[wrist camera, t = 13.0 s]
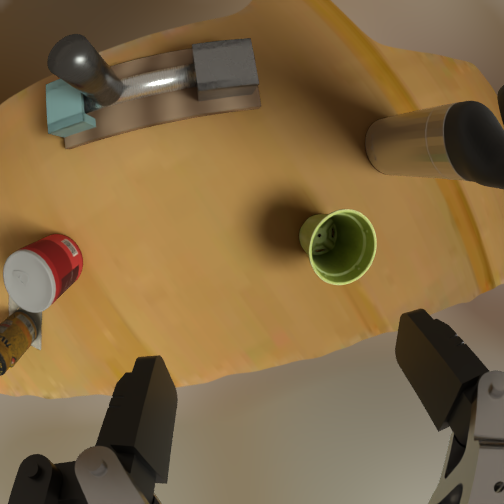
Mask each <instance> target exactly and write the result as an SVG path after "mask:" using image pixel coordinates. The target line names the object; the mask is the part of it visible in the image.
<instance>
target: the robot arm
mask: <svg viewBox="0 0 504 504" xmlns="http://www.w3.org/2000/svg"><path fill="white" fill-rule="evenodd" d="M498 104H499V109H500V113H501V117H502V121H503V125H504V85H503V86H502V87H501V88H500V90H499V92H498ZM365 148H366V152H367V155H368V158H369V160H370V162H371V163H372V165H373V166H374V167H375V168H376V169H377V170H378V171H380V172H381V173H383V174H386V175H397V176H413V177H428V178H442V179H454V180H465V181H473V182H476V183H478V184H481V185H484V186H488V187H494V188H500V189H504V130H503V128H502V127H501V125H500V123H499V122H498V120H497V118H496V117H495V116H494V114H493V113H492V112H491V111H490V110H489V109H488V108H487V107H486V106H485V105H483V104H481V103H479V102H476V101H465V102H459V103H453V104H447V105H442V106H437V107H432V108H427V109H423V110H418V111H413V112H409V113H404V114H400V115H395V116H391V117H387V118H383V119H379V120H377V121H375V122H374V123H373V124H372V125H371V126H370V127H369V129H368V131H367V134H366V139H365ZM395 354H396V359H397V362H398V364H399V366H400V368H401V369H402V371H403V372H404V374H405V376H406V377H407V379H408V381H409V382H410V384H411V385H412V387H413V389H414V390H415V392H416V393H417V395H418V397H419V399H420V400H421V402H422V404H423V406H424V407H425V409H426V410H427V412H428V414H429V416H430V418H431V419H432V421H433V423H434V425H435V426H436V428H437V430H438V431H441V430H443V429H445V428H447V427H449V426H450V427H451V429H452V433H451V436H450V440H449V444H448V449H447V453H446V457H445V461H444V465H443V469H442V473H441V477H440V480H439V483H438V485H437V488H436V489H435V491H434V493H433V495H432V497H431V499H430V501H429V503H428V504H504V372H502V371H489V370H488V369H487V368H486V367H485V366H484V364H483V363H482V362H481V361H480V360H479V358H478V357H477V356H476V355H475V354H474V353H473V352H472V350H471V349H470V348H469V347H468V346H467V345H466V344H464V341H463V340H462V339H461V338H460V337H459V336H457V334H456V333H455V331H454V330H453V329H452V328H451V327H450V326H449V325H447V324H445V323H444V322H442V321H440V320H438V319H435V320H433V318H432V317H431V316H430V315H429V314H428V313H427V312H426V311H425V310H424V309H418V310H414V311H411V312H407V313H403V314H402V315H401V317H400V322H399V329H398V335H397V342H396V348H395ZM112 396H113V398H111V401H110V404H109V408H108V409H107V412H106V415H105V418H104V421H103V425H102V427H101V430H100V433H99V437H98V440H97V443H96V445H95V446H93V447H90V448H88V449H86V450H84V451H83V452H82V453H81V454H80V455H79V456H78V458H77V460H76V461H73V462H66V463H58V464H53V463H52V462H51V461H50V460H49V459H48V458H46V457H45V456H43V455H40V454H34V455H31V456H29V457H27V458H26V459H24V460H23V462H22V463H21V465H20V467H19V470H18V472H17V476H16V478H15V482H14V485H13V488H12V491H11V495H10V498H9V502H8V504H162V503H161V501H160V500H159V498H158V497H157V496H156V494H155V493H154V487H155V483H167V479H168V470H169V462H170V453H171V446H172V438H173V431H174V423H175V416H176V409H177V392H176V388H175V385H174V383H173V381H172V379H171V377H170V374H169V372H168V370H167V368H166V365H165V363H164V361H163V359H162V357H161V356H146V357H138V358H137V359H136V362H135V365H134V368H133V371H132V372H130V373H125V374H124V375H123V377H122V378H121V379H120V380H119V381H118V383H117V384H116V387H115V389H114V392H113V395H112Z"/></svg>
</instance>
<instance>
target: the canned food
mask: <svg viewBox="0 0 504 504" xmlns="http://www.w3.org/2000/svg"><path fill="white" fill-rule="evenodd" d="M82 267H83V258H82V254H81V251H80V249H79V247H78V245H77V244H76V243H75V242H74V241H73V240H72V239H70V238H69V237H67V236H64V235H60V234H53V235H50V236H47V237H45V238H43V239H40V240H38V241H36V242H34V243H32V244H30V245H27V246H25V247H23V248H21V249H19V250H17V251H15V252H14V253H13V254H11V255H10V256H9V257H8V259H7V260H6V262H5V265H4V270H3V277H4V283H5V287H6V289H7V292H8V293H9V295H10V297H11V298H12V300H13V301H14V302H15V303H16V304H17V305H18V306H19V307H21V308H22V309H24V310H26V311H29V312H33V313H38V312H42V311H44V310H45V309H47V308H48V307H49V306H50V305H51V304H53V303H54V302H55V301H56V300H57V299H58V298H59V297H60V296H61V295H62V294H63V293H64V292H65V291H66V290H67V289H68V288H69V287H70V286H71V285H72V284H73V283H74V282H75V281H76V280H77V279H78V278H79V276H80V274H81V272H82Z"/></svg>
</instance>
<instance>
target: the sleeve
mask: <svg viewBox="0 0 504 504" xmlns="http://www.w3.org/2000/svg"><path fill="white" fill-rule="evenodd" d="M192 58H193V63H194V64H195V72H196V79H197V86H198V101H205V100H212V99H219V98H226V97H234V96H243V95H252V94H253V92H254V91H255V89H256V88H257V86H258V85H259V80H258V75H257V69H256V64H255V59H254V53H253V48H252V43H251V38H247V39H234V40H224V41H214V42H206V43H199V44H192Z"/></svg>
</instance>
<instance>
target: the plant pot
mask: <svg viewBox="0 0 504 504" xmlns="http://www.w3.org/2000/svg"><path fill="white" fill-rule="evenodd" d="M332 228H333V229H334V237H332ZM318 234H321V237H318ZM299 240H300V244H301V246H302V248H303V249H304V251H305V252H306V253H307V254H308V256H309V260H310V263H311V266H312V268H313V270H314V271H315V273H316V274H317V275H318V276H319V277H320V278H321V279H322V280H323V281H325V282H327V283H330V284H333V285H344V284H349V283H351V282H353V281H355V280H357V279H359V278H360V277H361V276H362V275H363V274H364V273H365V272H366V271H367V270H368V269H369V267H370V265H371V264H372V262H373V259H374V256H375V253H376V234H375V231H374V228H373V226H372V224H371V223H370V221H369V220H368V219H367V218H366V217H365V216H364V215H363V214H361V213H360V212H358V211H355V210H351V209H341V210H337V211H334V212H332V213H330V214H318V215H314V216H311V217H309V218H308V219H307V220H306V221H305V223H304V224H303V225H302V227H301V229H300V233H299ZM320 249H324V250H323V251H320V252H316V250H320Z"/></svg>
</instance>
